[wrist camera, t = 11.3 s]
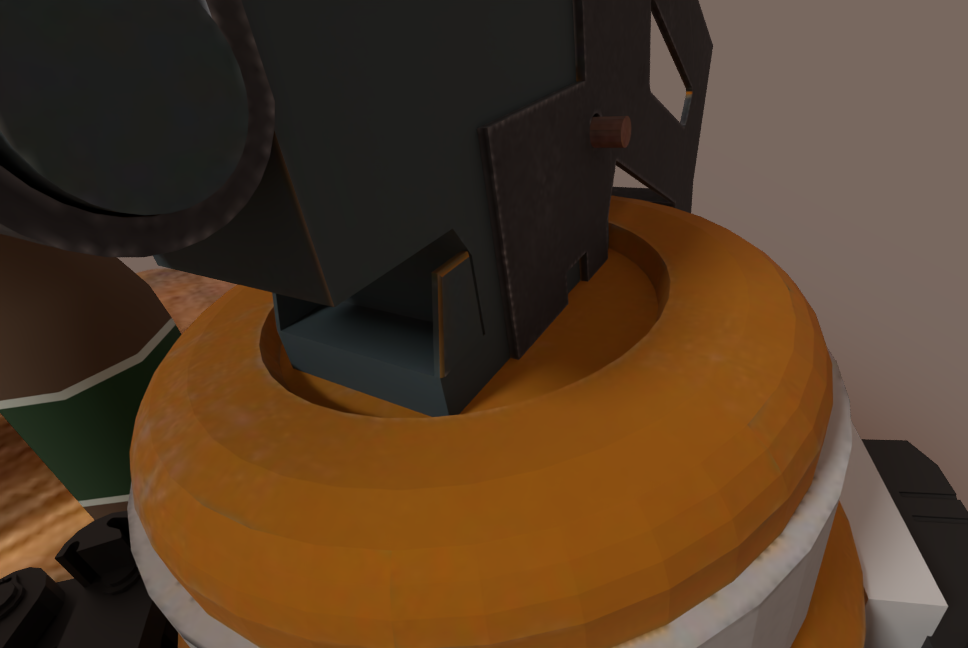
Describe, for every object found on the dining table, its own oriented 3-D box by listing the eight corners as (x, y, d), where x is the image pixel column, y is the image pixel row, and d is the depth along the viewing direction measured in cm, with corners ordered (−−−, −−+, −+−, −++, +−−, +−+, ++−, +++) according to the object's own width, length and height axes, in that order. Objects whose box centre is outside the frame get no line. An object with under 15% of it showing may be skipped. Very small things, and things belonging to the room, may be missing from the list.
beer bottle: (264, 523, 28) (-61, -7, 15) (104, 592, 26) (-428, 49, 13) (258, 434, 34) (27, 8, 21) (129, 484, 32) (-211, 47, 19)
